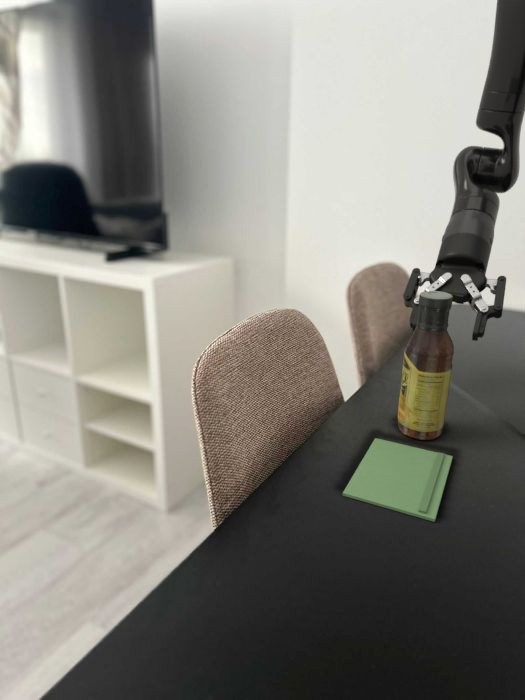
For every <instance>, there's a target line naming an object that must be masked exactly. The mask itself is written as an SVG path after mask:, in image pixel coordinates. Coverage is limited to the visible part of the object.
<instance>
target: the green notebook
mask: <svg viewBox="0 0 525 700" xmlns="http://www.w3.org/2000/svg"><path fill="white" fill-rule="evenodd" d="M453 458H454V457H453V455H449V454H446V453H444V452H439V451H438V452H436V451H432V450H428V449H424V448H419V447H416V446H411V445H406V444H403V443H399V442H394V441H390V440H386V439H385V440H384V439H381V438H378V437H377V438H376V437H374V440H373V441H372V442H371V444H370V446H369V448H368V449H367V451H366V452H365V454H364V456H363V458H362V460H361V461H360V462H359V464H358V466H357V468H356V470H355V471H354V473H353V475H352V476H351V478H350V479H349V482H348V483H347V485H346V486H345V488H344V490H343V491H342V496H343V497H347V498H348V499H349V498H350V499H353V500H356V501H360V502H363V503H366V504H371V505H374V506H378V507H381V508H384V509H388V510H391V511H394V512H397V513H401V514H406V515H409V516H412V517H416V518H419V519H423V520H426V521H429V522H433V523H435V522H436V520H437V516H438V512H439V508H440V505H441V501H442V497H443V496H444V495H443V494H444V490H445V487H446V483H447V480H448V476H449V472H450V469H451V465H452V462H453Z"/></svg>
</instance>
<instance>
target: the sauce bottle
mask: <svg viewBox="0 0 525 700" xmlns="http://www.w3.org/2000/svg"><path fill="white" fill-rule="evenodd" d="M419 295H420V296H419ZM419 295H418V296H419V302H418V303H419V306H420V307H419V315H418V321H417V326H416V328H415V330H414V332H413V331H412V334H411V336H410V337H409V340H408V342H407V344H406V346H405V347H404V350H403V351H404V353H403V361H402V372H401V381H400V389H399V390H400V391H399V399H398V410H397V424H398V425H397V427H398V429H399V432H400V433H401V434H402V435H403V436H406V437H409V438H411V439H415V440H420V441H433V440H436V439H438V437H440V436H441V435H442V433H443V428H444V425H445V420H446V414H447V409H448V408H447V407H448V400H449V391H450V385H451V379H452V373H453V372H452V371H453V357H454V354H455V352H454V351H455V346H454V345H455V344H454V342H453V340H452V338H451V336H450V334H449V332H448V327H449V317H450V311H451V310H452V306H453V302H452V300H453V296H452V295H451V294H449V293H446V292H441V291H426V292H424V291H421V292H420V293H419Z"/></svg>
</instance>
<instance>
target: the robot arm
mask: <svg viewBox="0 0 525 700" xmlns="http://www.w3.org/2000/svg"><path fill="white" fill-rule="evenodd" d="M495 6H496V7H495V9H496V10H495V18H494V27H493V28H494V29H493V37H492V45H491V51H490V57H489V64H488V67H487V73H486V77H485V81H484V85H483V88H482V89H483V90H482V92H481V97H480V101H479V104H478V109H477V113H476V118H475V126H476V128H477V129H479V130H481V131H483V132H486V133H488V134H492V135H495V136H496V137H498V138H499V139H500V140H501V142H502V148H498V147H497V148H496V147H490V146H489V147H488V146H482V145H481V146H480V145H469V146H466V147H464V148H463V149H461V150H460V151H459V152H458V154H457V155H456V156H455V158H454V161H453V166H452V180H453V188H454V200H453V205H452V209H451V213H450V217H449V221H448V222H447V225H446V227H445V229H444V233H443V235H442V238H441V244H440V248H439V251H438V255H437V258H436V262H435V265H434V268H433V270H432V271H431V272H425V271H421V269H420V268H418V267H414V268H412V271H411V273H410V276H409V278H408V281H407V284H406V287H405V289H404V292H403V294H402V298H403V302H404V306H405V307H406V308H411V309H412V310H411V313H410V315H409V316H410V317H409V326H410V328H411V329H412V333H413V332H414V330H415V328H416V326H417V321H418V315H419V307H420V306H419V303H418V302H419V296H420V294H419V295H417V294H418V290H419V287H423V285H424V284H425V283H426V282H429V285H428V286H427V287H426V288H425V289H424V291H423V292H426V291H441V292H446V293H449V294H451V295H452V296H453V300H452V303H456V304H459V305H464V303H467V304H468V305H469V306H470V308H471V309H472V311H474V313H475V314H476V317H475V321H474V325H473V330H472V334H471V336H472V337H471V341H474V342H475V341H476V342H478V340H479V338H481V339H482V338H483V337H484V335H485V332H486V327H487V324H488V323H487V322H488V320H489V319H492V318H493V319H501V318H502V316H503V309H504V303H505V302H504V301H505V294H506V286H507V277H506V276H505V275H499V276H498V277H497V278H487V276H486V274H487V270H488V265H489V260H490V256H491V252H492V248H493V243H494V239H495V229H496V224H497V222H496V221H497V220H498V214H499V210H500V206H501V205H500V204H501V203H500V197H499V196H498V194H506V193H507V192H509V191H510V190H511V189H512V188H513V187H514V186H515V184H516V183H517V181H518V180H519V176H520V166H521V165H520V164H521V163H520V162H521V161H520V158H521V157H520V155H521V154H520V145H521V144H520V142H521V141H520V140H521V131H522V125H523V121H524V116H525V0H497V1H496V5H495ZM486 288H488V289H489V291H490V292H489V293H490V294H492V295H494V302H493V304H492V305H488V304H487V303H486V302H485V300H484V298H483V296H482V294H481V293H482V292H483V291H484V290H485V289H486Z"/></svg>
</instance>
